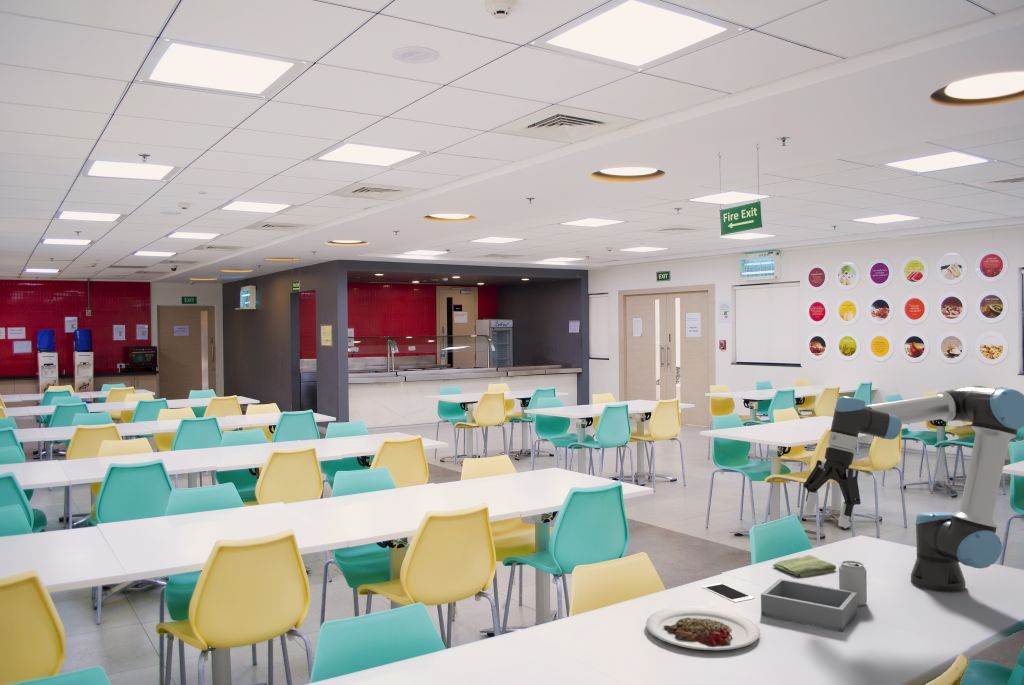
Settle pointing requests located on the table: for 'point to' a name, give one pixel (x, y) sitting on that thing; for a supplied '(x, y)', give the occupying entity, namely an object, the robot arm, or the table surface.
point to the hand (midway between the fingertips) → (825, 520)
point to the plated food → (703, 628)
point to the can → (854, 579)
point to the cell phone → (728, 592)
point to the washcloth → (805, 566)
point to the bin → (809, 604)
